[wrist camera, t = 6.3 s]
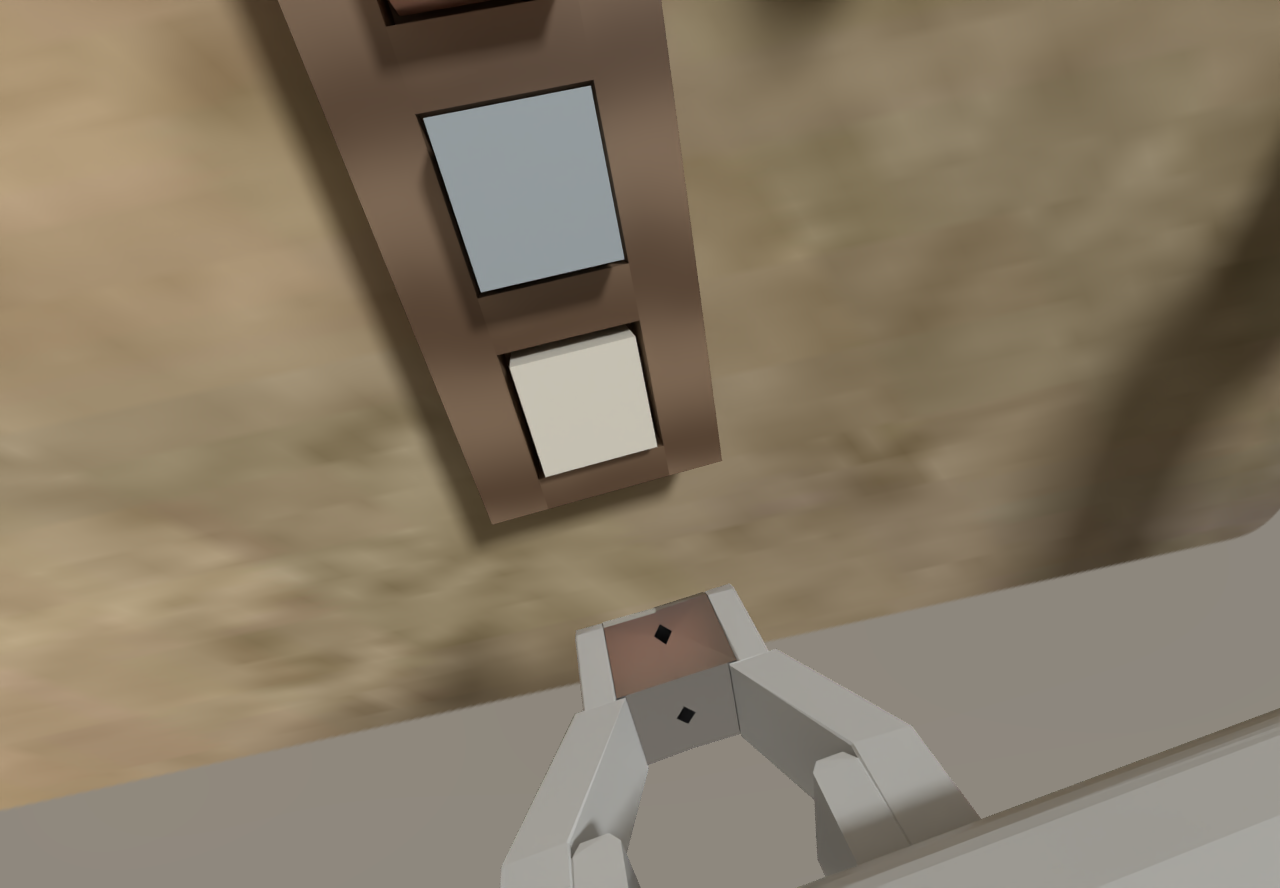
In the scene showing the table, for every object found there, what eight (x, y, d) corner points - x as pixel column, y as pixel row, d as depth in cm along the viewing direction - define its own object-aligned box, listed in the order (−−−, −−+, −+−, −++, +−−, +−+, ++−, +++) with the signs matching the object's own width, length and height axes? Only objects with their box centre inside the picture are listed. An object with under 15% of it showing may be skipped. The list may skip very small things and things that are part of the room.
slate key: (436, 129, 17) (422, 118, 14) (582, 101, 17) (590, 85, 15) (486, 282, 19) (480, 292, 17) (613, 253, 19) (624, 259, 17)
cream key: (511, 350, 21) (509, 367, 19) (624, 322, 22) (635, 336, 19) (543, 451, 23) (545, 477, 21) (645, 424, 24) (657, 446, 22)
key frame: (13, -777, 11) (-236, -1253, 7) (509, -789, 12) (502, -1205, 8) (496, 481, 26) (492, 524, 22) (696, 427, 27) (721, 460, 24)
